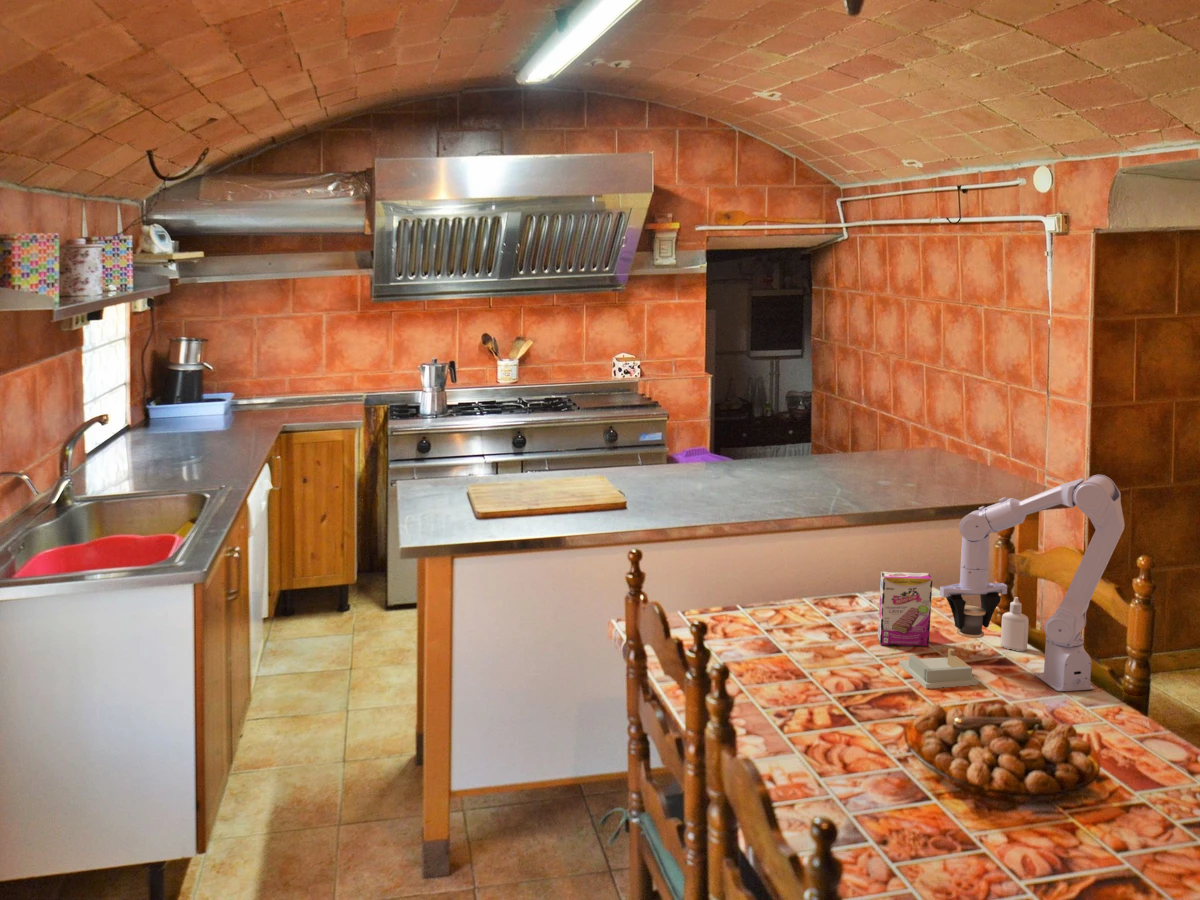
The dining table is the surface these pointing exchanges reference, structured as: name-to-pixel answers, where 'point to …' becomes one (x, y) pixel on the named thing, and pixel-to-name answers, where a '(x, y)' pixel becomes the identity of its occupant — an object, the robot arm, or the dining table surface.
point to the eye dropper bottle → (1014, 628)
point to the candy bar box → (904, 609)
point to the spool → (972, 622)
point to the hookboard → (939, 671)
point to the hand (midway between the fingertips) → (971, 626)
